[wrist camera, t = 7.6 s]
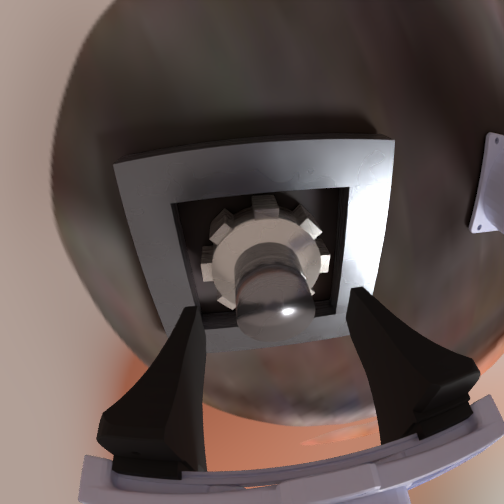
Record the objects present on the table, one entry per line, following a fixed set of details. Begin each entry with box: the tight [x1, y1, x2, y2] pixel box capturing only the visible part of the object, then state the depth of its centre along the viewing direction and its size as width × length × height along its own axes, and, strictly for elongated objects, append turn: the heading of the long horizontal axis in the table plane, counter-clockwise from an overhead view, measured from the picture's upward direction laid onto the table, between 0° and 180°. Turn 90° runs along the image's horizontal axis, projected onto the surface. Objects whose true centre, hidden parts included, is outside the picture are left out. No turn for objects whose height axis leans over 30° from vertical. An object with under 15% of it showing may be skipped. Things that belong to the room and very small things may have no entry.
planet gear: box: [201, 195, 330, 342], centre depth 15 cm, size 7×7×6 cm
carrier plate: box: [113, 133, 395, 353], centre depth 17 cm, size 14×14×2 cm
